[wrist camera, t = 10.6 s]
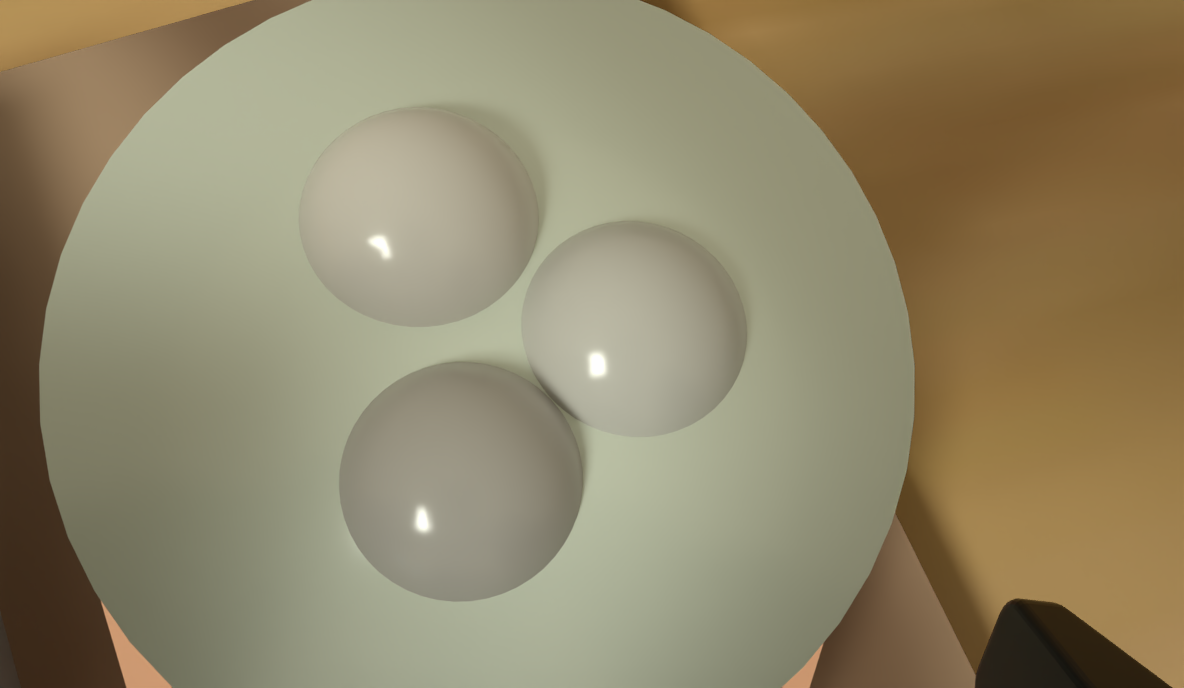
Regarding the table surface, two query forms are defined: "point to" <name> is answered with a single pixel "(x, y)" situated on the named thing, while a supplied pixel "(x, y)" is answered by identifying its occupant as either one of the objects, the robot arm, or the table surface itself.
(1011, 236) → the table surface
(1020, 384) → the table surface
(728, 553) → the pale green tall cylinder
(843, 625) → the walnut board
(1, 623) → the parts tray
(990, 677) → the robot arm
